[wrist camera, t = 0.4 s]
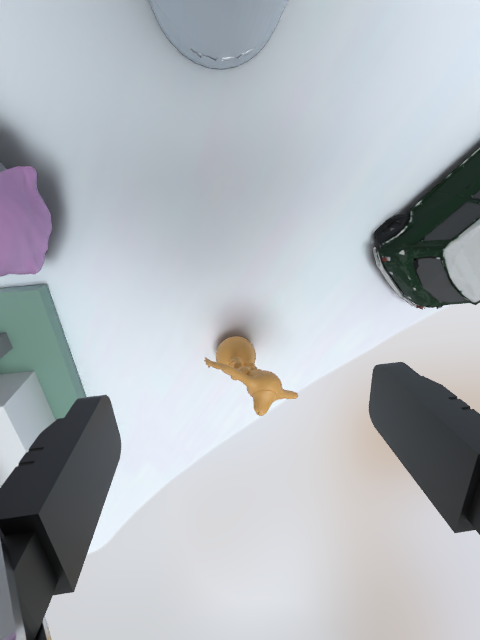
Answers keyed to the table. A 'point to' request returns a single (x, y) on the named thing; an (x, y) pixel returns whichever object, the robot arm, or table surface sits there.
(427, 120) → the table surface
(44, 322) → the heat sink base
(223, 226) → the table surface
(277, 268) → the table surface
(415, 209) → the miniature car
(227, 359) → the figurine
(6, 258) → the toy character
